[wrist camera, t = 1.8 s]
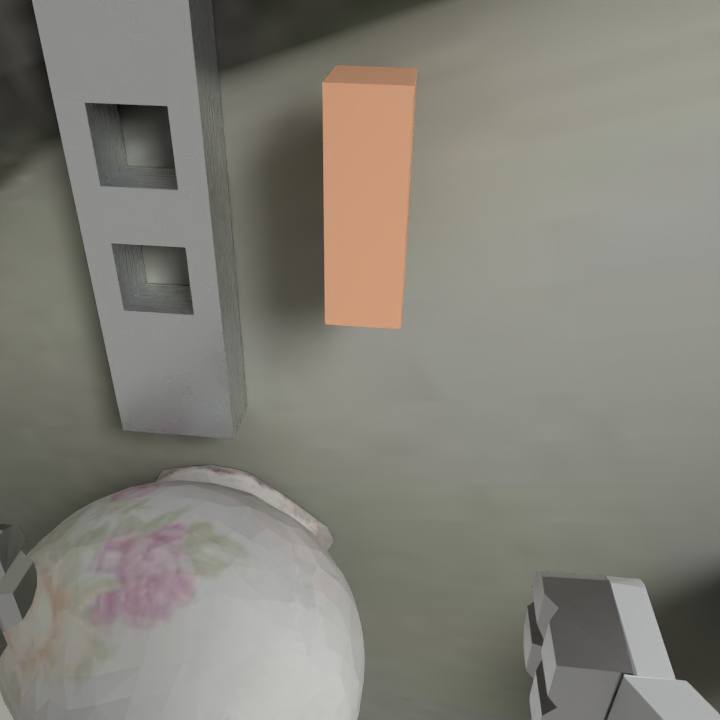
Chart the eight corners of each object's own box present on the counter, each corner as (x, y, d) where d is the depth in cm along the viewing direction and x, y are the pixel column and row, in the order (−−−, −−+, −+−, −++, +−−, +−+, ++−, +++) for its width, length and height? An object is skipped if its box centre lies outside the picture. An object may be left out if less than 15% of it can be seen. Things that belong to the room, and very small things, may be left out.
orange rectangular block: (346, 51, 28) (322, 82, 22) (419, 54, 28) (414, 86, 22) (345, 254, 33) (325, 324, 27) (407, 257, 33) (400, 329, 27)
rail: (48, -116, 26) (6, -121, 23) (202, -113, 25) (176, -119, 23) (143, 398, 39) (123, 430, 36) (247, 405, 38) (233, 439, 36)
